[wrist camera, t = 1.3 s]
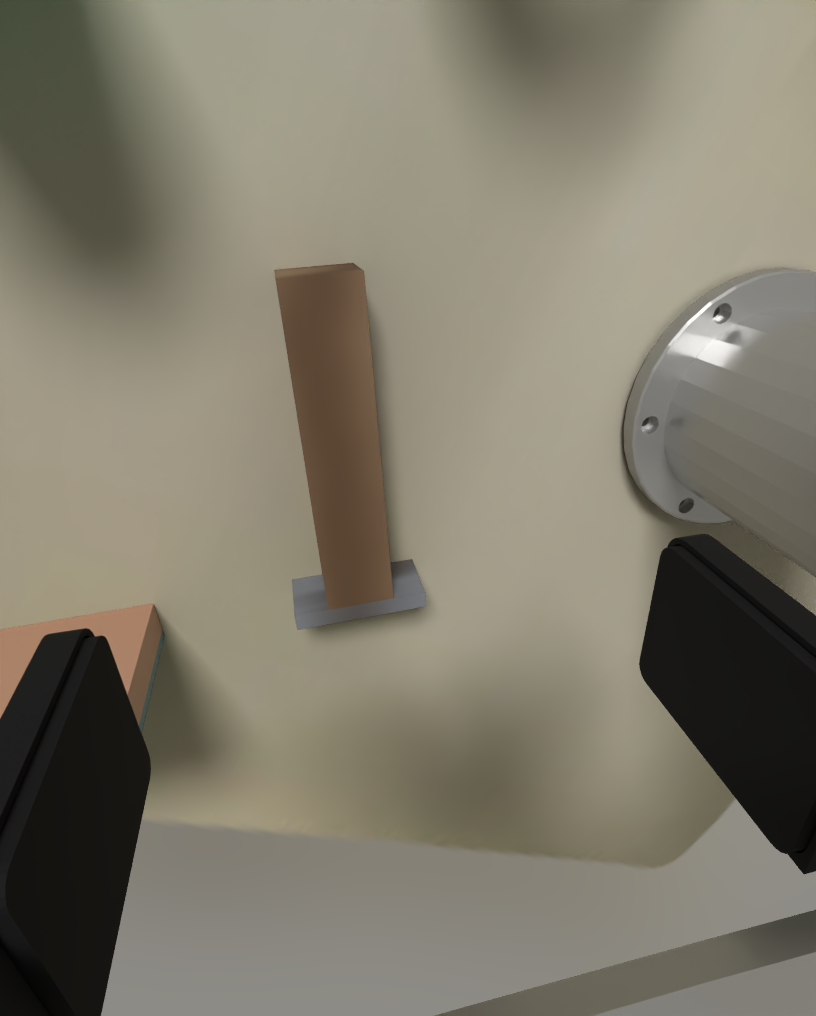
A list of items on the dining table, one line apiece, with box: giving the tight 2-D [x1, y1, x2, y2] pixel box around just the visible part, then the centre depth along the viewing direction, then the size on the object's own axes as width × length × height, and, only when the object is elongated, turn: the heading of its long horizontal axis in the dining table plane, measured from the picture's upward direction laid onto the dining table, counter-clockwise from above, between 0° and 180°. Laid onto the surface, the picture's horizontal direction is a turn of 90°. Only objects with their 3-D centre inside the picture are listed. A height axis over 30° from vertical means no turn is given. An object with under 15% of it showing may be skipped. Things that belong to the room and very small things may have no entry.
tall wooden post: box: [275, 263, 426, 630], centre depth 25 cm, size 6×15×3 cm, turn 3°
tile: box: [0, 604, 164, 733], centre depth 23 cm, size 7×2×10 cm, turn 94°
